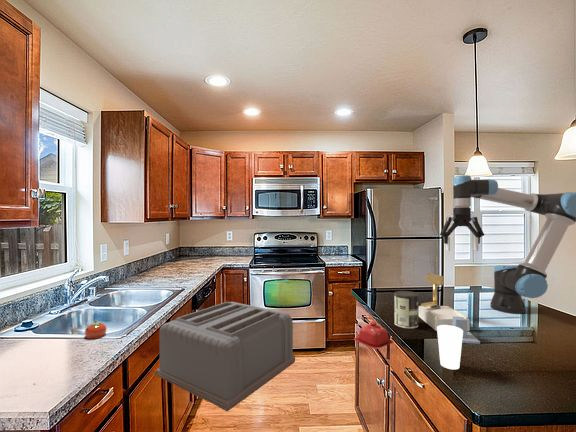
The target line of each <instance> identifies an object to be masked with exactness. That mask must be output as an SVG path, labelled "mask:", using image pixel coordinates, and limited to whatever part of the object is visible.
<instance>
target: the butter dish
mask: <svg viewBox="0 0 576 432" xmlns="http://www.w3.org/2000/svg"><path fill="white" fill-rule="evenodd" d="M353 341H356V342H357V343H360V344H361V345H364V346H366V347H368V348H370V349H373V350H378V349H381V348H383V347H386V346H388V345H392V344H393V343H394V340H393V339H390V338H389V335H388V330H387V328H385V327H383V326H381V325H378V323H377V321H374V320H372V321H370V322H369V324H367V325H364V326H362V327H360V330H359V334H358V336H356V337H354V338H353Z"/></svg>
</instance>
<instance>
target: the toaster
mask: <svg viewBox="0 0 576 432" xmlns="http://www.w3.org/2000/svg"><path fill="white" fill-rule="evenodd" d="M293 325H294V321H293V318H292V316H291V315H290V314H289V313H287V312H283V311H278V310H274V309H270V308H269V309H268V308H263V307H259V306H254V305H250V304H247V303H246V304H245V303H240V302H236V301H225V302H224V301H223V302H221V303H219V304H215V305H212V306H210V307H209V306H208V307H207V308H204V309H199V310H197V311H195V312H191V313H187V314H185V315H181V316H179V317H176V318H175V319H174V320H171V321H168V322H166V323H163V324H162V325H161V326H160V328H159V367H158V368H157V369H156V376H157V377H159V378H161V379H162V380H165V381H167V382H168V383H170V384H172V385H175V386H176V387H178V388H179V389H182V390H183V391H186V392H188V393H189V394H192V395H194V396H196V397H197V398H200V399H202V400H204V401H206V402H208V403H210V404H212V405H214V406H216V407H218V408H220V409H221V410H223V411H225V412H229V411H230V410H232V409H233V408H234V407H236V406H237V405H239V404H240V403H241V402H243V401H244V400H245V399H247V398H249V397H250V396H251V395H252V394H253V393H255V392H256V391H258V390H259V389H260V388H262V387H263V386H264V385H266V384H267V383H269V382H270V381H272V380H273V379H274V378H276V377H277V376H278V375H280V374H281V373H282V372H284V371H285V370H287V369H288V368H289V367H290V366H292V365H293V364H294V363H295V362H296V355H294V351H293V350H294V344H293V343H294V339H293V338H294V337H293V335H294V334H293V333H294V330H293V329H294V328H293V327H294V326H293Z"/></svg>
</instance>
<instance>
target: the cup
mask: <svg viewBox="0 0 576 432" xmlns="http://www.w3.org/2000/svg"><path fill="white" fill-rule="evenodd" d="M436 332H437V342H438V352H439V353H438V355H439V362H440V363H439V364H440V366H441V367H443V368H446V369H448V370H459V369H460V365H461V364H460V363H461V355H462V346H463V343H462V338H463V330H462V329H461V328H458V327H456V326H451V325H439V326H437V331H436Z"/></svg>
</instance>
